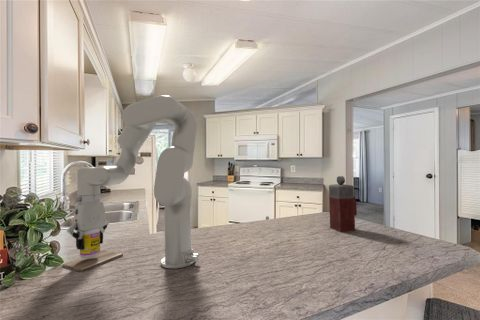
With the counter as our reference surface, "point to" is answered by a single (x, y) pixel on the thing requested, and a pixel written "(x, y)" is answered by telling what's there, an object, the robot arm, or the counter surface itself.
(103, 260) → the board
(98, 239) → the supplement bottle
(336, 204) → the red canister
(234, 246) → the counter surface
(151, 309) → the counter surface
